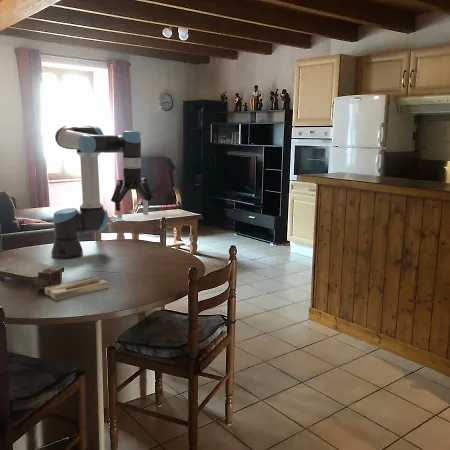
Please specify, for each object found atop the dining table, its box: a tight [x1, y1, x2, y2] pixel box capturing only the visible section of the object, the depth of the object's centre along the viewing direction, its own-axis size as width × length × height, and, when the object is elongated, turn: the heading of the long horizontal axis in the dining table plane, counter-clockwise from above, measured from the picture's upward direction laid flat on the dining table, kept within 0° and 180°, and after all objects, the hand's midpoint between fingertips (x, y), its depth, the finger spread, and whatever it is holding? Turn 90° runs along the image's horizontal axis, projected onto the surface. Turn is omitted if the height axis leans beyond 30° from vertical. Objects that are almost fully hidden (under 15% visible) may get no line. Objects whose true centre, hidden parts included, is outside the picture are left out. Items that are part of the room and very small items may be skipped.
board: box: [44, 275, 109, 301], centre depth 189 cm, size 10×22×3 cm, turn 134°
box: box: [37, 267, 61, 291], centre depth 191 cm, size 6×6×7 cm
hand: (133, 216), depth 208 cm, fingers open, 13 cm apart
